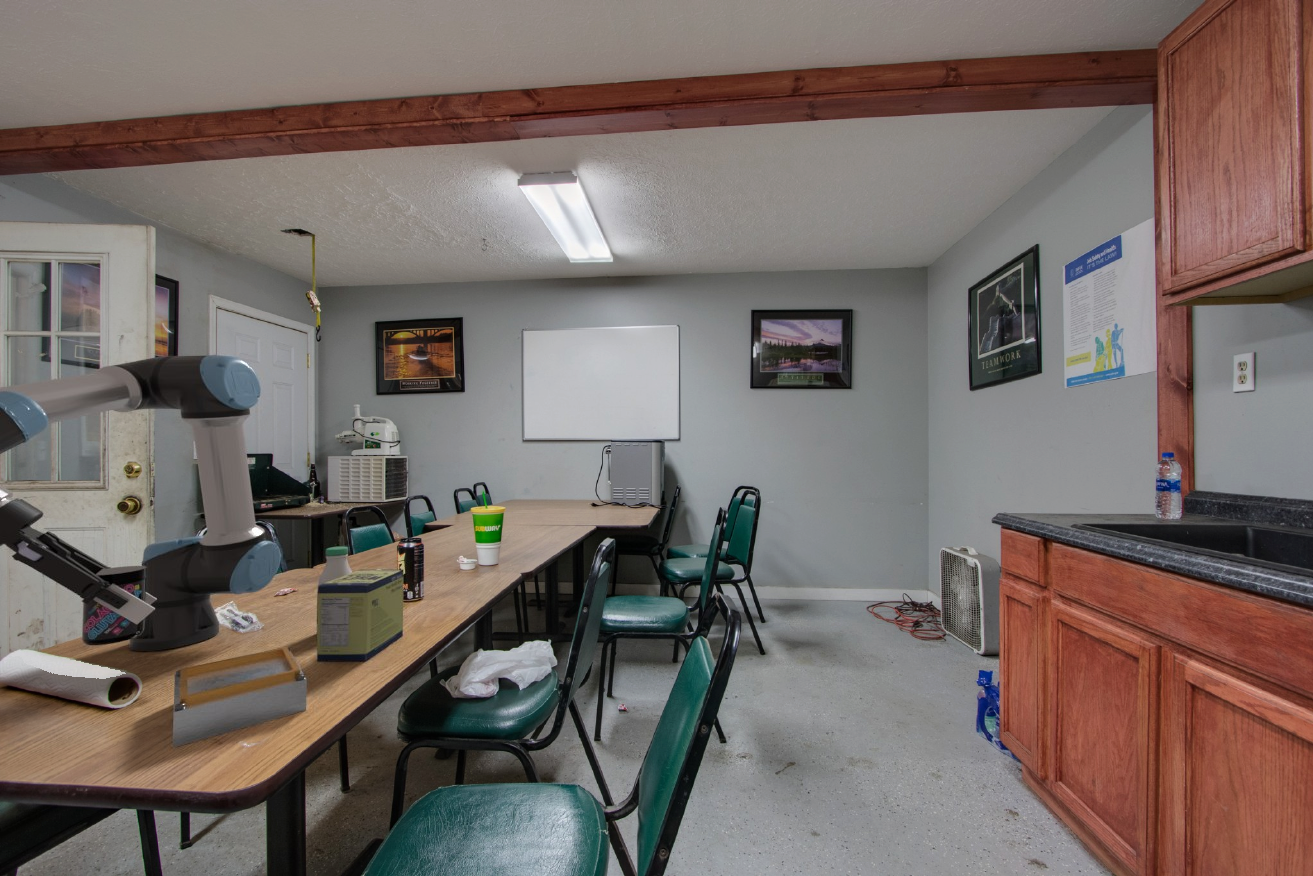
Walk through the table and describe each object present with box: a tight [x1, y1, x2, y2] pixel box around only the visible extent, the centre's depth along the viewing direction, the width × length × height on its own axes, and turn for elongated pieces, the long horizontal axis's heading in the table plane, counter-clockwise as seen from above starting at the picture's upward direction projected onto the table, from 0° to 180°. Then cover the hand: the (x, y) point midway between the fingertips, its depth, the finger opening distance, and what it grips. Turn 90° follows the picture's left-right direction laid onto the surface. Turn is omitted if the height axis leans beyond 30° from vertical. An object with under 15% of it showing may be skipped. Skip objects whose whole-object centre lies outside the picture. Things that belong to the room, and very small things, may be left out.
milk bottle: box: [316, 546, 353, 630], centre depth 123 cm, size 8×8×20 cm
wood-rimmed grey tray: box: [172, 646, 308, 748], centre depth 86 cm, size 18×16×6 cm
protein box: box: [316, 568, 404, 662], centre depth 113 cm, size 10×16×16 cm
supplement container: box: [81, 565, 147, 646], centre depth 79 cm, size 7×7×10 cm
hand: (147, 610), depth 82 cm, fingers closed on supplement container, 7 cm apart
